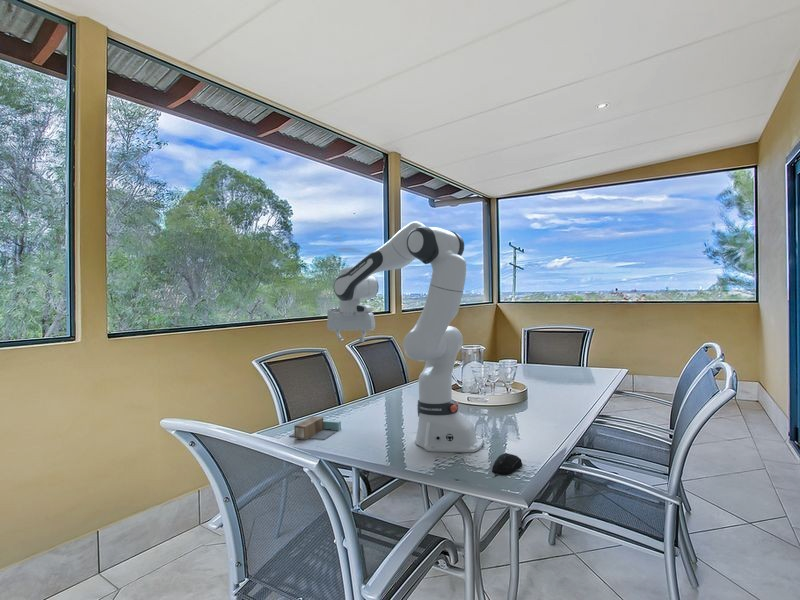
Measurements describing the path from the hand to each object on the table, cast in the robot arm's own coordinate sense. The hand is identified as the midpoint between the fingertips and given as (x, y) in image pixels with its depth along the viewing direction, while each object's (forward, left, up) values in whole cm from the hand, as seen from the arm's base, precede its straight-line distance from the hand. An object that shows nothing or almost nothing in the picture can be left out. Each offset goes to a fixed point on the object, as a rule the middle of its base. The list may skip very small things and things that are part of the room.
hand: (351, 341), depth 183 cm
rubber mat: (+5, +23, -31) cm, 39 cm away
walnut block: (+6, +18, -28) cm, 34 cm away
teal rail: (+5, +16, -31) cm, 35 cm away
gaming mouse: (-64, +37, -32) cm, 81 cm away
